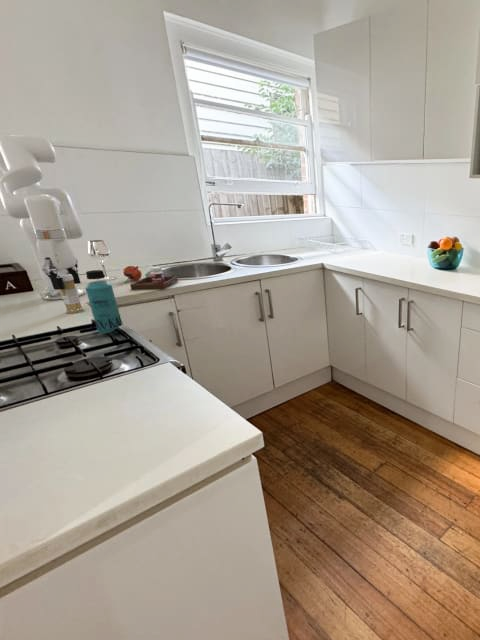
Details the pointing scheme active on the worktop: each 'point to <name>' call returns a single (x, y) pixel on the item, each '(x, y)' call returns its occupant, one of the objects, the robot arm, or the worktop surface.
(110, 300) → the beverage bottle
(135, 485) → the worktop surface
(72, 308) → the sprinkles bottle
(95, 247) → the wineglass
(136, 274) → the pomegranate
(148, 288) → the tray
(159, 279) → the pill bottle
